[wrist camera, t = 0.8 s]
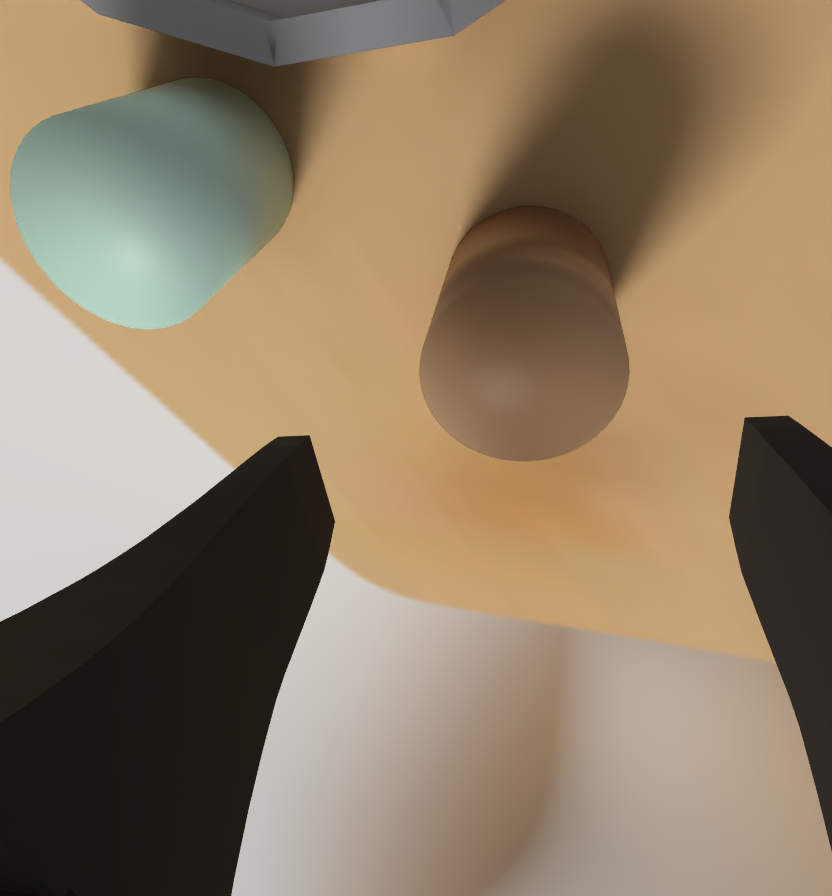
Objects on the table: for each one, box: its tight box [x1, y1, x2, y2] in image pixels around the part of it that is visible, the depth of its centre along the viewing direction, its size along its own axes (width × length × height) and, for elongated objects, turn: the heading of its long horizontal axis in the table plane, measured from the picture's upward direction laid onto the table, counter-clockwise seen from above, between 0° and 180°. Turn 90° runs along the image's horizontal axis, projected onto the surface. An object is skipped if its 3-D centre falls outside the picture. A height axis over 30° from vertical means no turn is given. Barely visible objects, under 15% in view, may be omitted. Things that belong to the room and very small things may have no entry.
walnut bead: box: [419, 206, 629, 461], centre depth 16 cm, size 4×4×5 cm
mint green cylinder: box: [10, 77, 294, 329], centre depth 15 cm, size 4×4×5 cm
